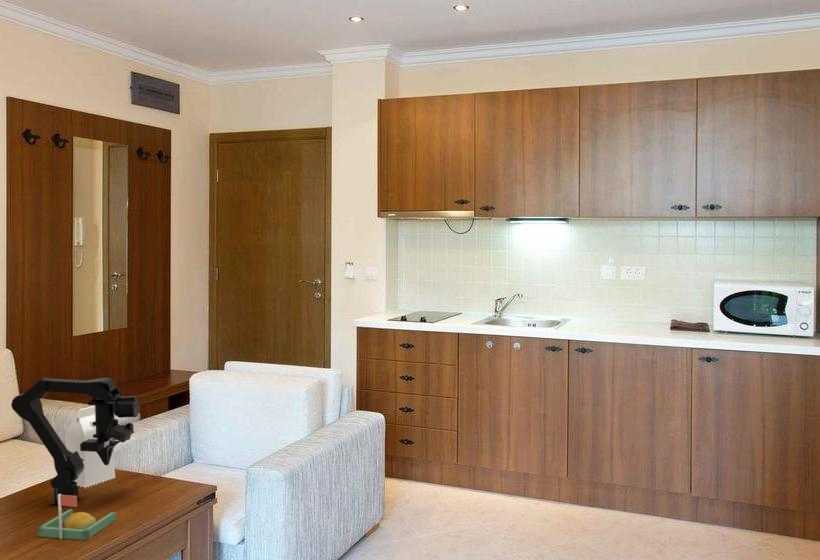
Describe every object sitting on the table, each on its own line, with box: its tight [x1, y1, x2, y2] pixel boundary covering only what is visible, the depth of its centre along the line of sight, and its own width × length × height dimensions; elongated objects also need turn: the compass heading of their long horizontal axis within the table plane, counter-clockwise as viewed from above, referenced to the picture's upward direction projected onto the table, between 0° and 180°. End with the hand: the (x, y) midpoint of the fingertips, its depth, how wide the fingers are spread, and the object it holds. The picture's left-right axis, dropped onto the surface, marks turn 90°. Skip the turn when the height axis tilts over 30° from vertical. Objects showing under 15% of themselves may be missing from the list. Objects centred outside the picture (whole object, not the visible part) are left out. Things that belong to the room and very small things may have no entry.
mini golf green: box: [37, 494, 116, 541], centre depth 210 cm, size 15×15×13 cm
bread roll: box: [63, 511, 97, 530], centre depth 212 cm, size 8×9×4 cm
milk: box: [65, 405, 116, 489], centre depth 251 cm, size 12×12×26 cm
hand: (106, 464), depth 231 cm, fingers closed
